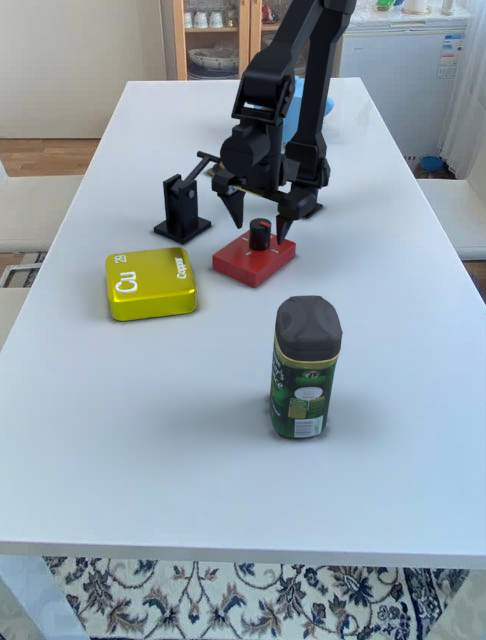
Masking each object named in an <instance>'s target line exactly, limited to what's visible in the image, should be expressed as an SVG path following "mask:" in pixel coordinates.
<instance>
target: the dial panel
mask: <svg viewBox="0 0 486 640" xmlns="http://www.w3.org/2000/svg"><path fill="white" fill-rule="evenodd" d="M296 250H297V242H295V241H292V240H289V239H287V238H285V239H284V241H283V243H282V244H281V245H278V244H277V236H276V234H274V233H272V232H271V240H270V247H269V248H268V249H267V250H264V251H255V250H253V249H251V248H250V247H249V229H248V230H247V231H245V232H243V234H241V235H239V236H238V237H236V238H235V239H233V240H232V241H231V242H230V243H228V244H227V245H225V246H224V247H222V248H220V249H219V250H218V251H216V252H214V253H213V254H212V256H211V261H212V263H211V265H212V270H213V271H215V272H218V273H220V274H222V275H224V276H226V277H229V278H230V279H231V278H232V279H233V280H236V281H238V282H241V283H243V284H245V285H246V286H249V287H252V288H254V289H256V288H257V287H259V286H260V285H261V284H263V282H265V281H266V280H267V279H268V278H271V276H273V275H274V274H275V273H276V272H278V271H279V270H280V269H282V268H283V267H284V266H285V265H287V264H288V263H289V262H290V261H291V260H293V259H294V258H295V257H296Z"/></svg>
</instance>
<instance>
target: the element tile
mask: <svg viewBox="0 0 486 640" xmlns="http://www.w3.org/2000/svg"><path fill="white" fill-rule="evenodd" d="M104 263H105V264H104V265H105V276H106V277H105V278H106V290H107V299H108V304H109V305H108V306H109V310H110V315H111V317H112V318H113V319H114V320H116V321H121V322H125V321H126V322H127V321H135V320H142V319H151V318H159V317H166V316H167V317H169V316H176V315H184V314H189V313H192V312H194V311H195V310H196V309H197V305H198V300H197V299H198V298H197V284H196V281H195V277H194V274H193V269H192V265H191V261H190V258H189V254H188V252H187V250H186V249H185V248H184V247H181V246H174V247H166V248H157V249H155V248H154V249H147V250H138V251H137V250H136V251H128V252H127V251H126V252H120V253H119V252H118V253H112V254H109V255H108V256H107V257H106V258H105V262H104Z"/></svg>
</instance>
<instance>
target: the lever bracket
mask: <svg viewBox="0 0 486 640" xmlns="http://www.w3.org/2000/svg"><path fill="white" fill-rule="evenodd" d="M182 178H183V177H182V174H180V173H176V174H174V175H173V176H170V177H169V178H166V179H165V180H163V181H162V189H163V190H162V191H163V201H164V213H165V220H163V221H162V222H159V223H157V225H155V226H153V228H152V229H153V233H154V234H156V235H159V236H161V237H163V238H166V239H168V240H170V241H173V242H175V243H177V244H180V245H181V246H184V245H185V244H188V242H190V241H191V240H193V239H195V238H196V237H198V236H199V235H201V234H203V233H204V232H206V231H207V230H209V229H210V228H212V221H211V220H208V219H206V218H203V217H201V216H199V201H198V200H199V199H198V198H199V197H198V180H197V179H192V180H191V181H189V182H187V183H185V184H184V185H182V186H180V187H178V192H179V200H178V199H175V198H174V197H173V195H172V192H171V189H170V188H171V187H172V186H173V185H174V184H175V183H176V181H177V180H178V179H181V180H183V179H182Z"/></svg>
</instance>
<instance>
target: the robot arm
mask: <svg viewBox="0 0 486 640" xmlns="http://www.w3.org/2000/svg"><path fill="white" fill-rule="evenodd" d="M357 2H358V0H291V2H290V4H289V6H288V7H287V10H286V12H285V14H284V15H283V18H282V19H281V22H280V23H279V26H278V27H277V30H276V32H275V34H274V35H273V37H272V39H271V41H270V43H269V44H268V46H266V47H265V48H263V49H261V50H259V51H258V52H256V53H255V54H254V55H253V58H252V59H251V60H250V62H249V63H248V64H247V66H246V68H245V69H244V71H243V72H242V74H241V76H240V81H239V83H238V84H239V85H238V88H237V92H236V95H235V99H234V103H233V108H232V110H231V114H230V117H231V119H234V120H239V123H238V124H235V125H234V126H233V127H232V128H231V135H229V136H228V137H227V138H225V139H224V141H223V142H222V144H221V146H220V149H219V157H220V159H221V162H222V164H223V166H224V167H225V168H224V169H222V170H221V171H219V172H217V173H216V174H214V175H212V177H211V181H210V182H211V184H210V185H211V187H210V189H211V192H214V193H216V196H217V197H218V198H219V199H220V200H221V201H222V203H223V205H224V206H225V209H226V210H227V212H228V214H229V216H230V217H231V219H232V221H233V223H234V225H235V227H236V229H238V230H240V229H242V228H243V225H244V209H245V208H244V207H245V196H246V193H247V194H250V195H253V196H255V197H259V198H263V199H265V200H268V201H270V202H273V203H277V209H276V210H277V212H278V214H277V215H275V229H276V231H275V232H276V233H275V235H276V236H277V244H278V245H281V244H282V243H283V241H284V239H286V238H287V235H288V233H289V230H290V229H291V226H292V224H293V223H294V221H300V220H301V219H302V218H303V219H309V218H311V217H312V216H313V215H315V214H316V213H318V212H319V211H320V210H321V209H323V208H324V204H322V203H319V202H318V198H319V190H322V188H325V187H329V182H330V177H331V173H332V169H331V166H330V164H329V161H328V158H327V152H328V146H327V143H326V139H325V138H324V133H323V129H322V125H323V126H324V120H325V117H324V114H325V108H326V102H327V97H329V96H328V95H329V90H330V84H331V78H332V72H333V66H334V60H335V54H336V49H337V43H338V41H339V40H340V38H341V37H342V36H343V34H344V33H345V31H346V30H347V29H348V27H349V26H350V23H351V19H352V15H353V14H354V13H355V10H356V6H357ZM308 41H309V45H308V52H307V58H306V66H305V72H304V78H305V79H304V78H303V79H304V86H303V93H302V100H301V106H300V113H299V120H298V127H297V132H296V133H295V134H294V136H293V137H292V138H291V140H290V141H288V142H287V143H286V144H285V146H284V152H283V153H282V149H283V142H282V135H283V120H284V119H283V118H286V115H287V112H288V110H289V107H290V104H291V101H292V98H293V96H294V93H295V84H296V81H295V75H296V74H295V68H296V66H297V64H298V61H299V59H300V57H301V55H302V53H303V51H304V49H305V47H306V45H307V44H308V43H307V42H308ZM245 104H247V105H249V106H254V105H255V106H261V107H262V108H260V109H256V108H254V107H249V106H245ZM323 119H324V120H323ZM287 182H288V183H290V188H289V189H290V190H289V191H288V192H285V191H282V190H279V188H280V187H282V188H283V187H284V186H286V185H287Z"/></svg>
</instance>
